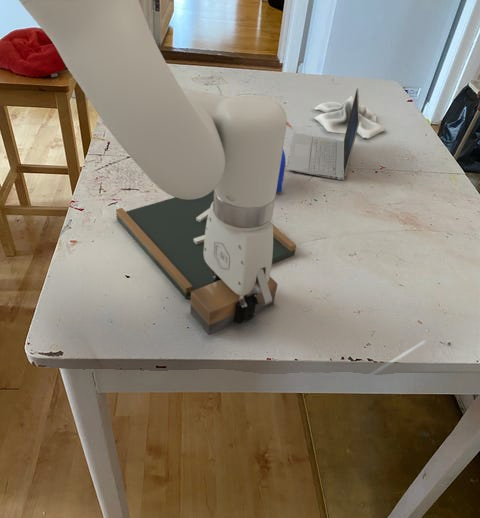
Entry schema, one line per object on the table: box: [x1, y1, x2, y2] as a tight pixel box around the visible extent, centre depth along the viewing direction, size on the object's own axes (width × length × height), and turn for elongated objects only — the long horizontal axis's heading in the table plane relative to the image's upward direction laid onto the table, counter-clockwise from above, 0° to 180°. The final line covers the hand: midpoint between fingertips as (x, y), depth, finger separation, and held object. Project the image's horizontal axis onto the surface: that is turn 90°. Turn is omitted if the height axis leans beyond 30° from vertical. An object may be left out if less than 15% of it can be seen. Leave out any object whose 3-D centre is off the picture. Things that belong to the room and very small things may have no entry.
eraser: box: [190, 276, 278, 336], centre depth 70 cm, size 12×5×4 cm, turn 125°
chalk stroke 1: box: [196, 208, 210, 222], centre depth 86 cm, size 5×1×1 cm, turn 145°
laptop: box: [287, 88, 360, 181], centre depth 103 cm, size 18×12×13 cm
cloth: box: [313, 95, 386, 140], centre depth 122 cm, size 22×19×6 cm
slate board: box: [115, 190, 297, 300], centre depth 83 cm, size 22×24×2 cm
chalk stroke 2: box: [194, 235, 205, 244], centre depth 81 cm, size 4×1×1 cm, turn 125°
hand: (233, 307), depth 71 cm, fingers closed on eraser, 5 cm apart
